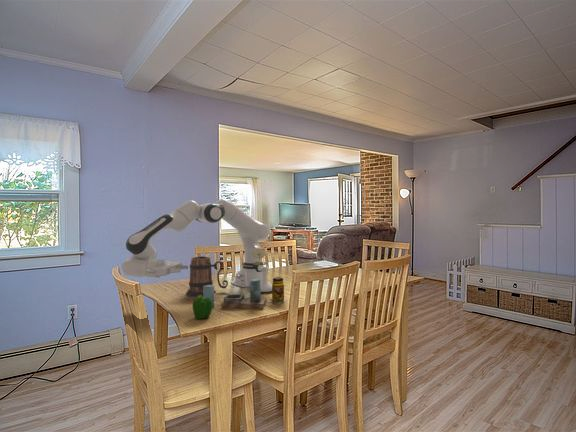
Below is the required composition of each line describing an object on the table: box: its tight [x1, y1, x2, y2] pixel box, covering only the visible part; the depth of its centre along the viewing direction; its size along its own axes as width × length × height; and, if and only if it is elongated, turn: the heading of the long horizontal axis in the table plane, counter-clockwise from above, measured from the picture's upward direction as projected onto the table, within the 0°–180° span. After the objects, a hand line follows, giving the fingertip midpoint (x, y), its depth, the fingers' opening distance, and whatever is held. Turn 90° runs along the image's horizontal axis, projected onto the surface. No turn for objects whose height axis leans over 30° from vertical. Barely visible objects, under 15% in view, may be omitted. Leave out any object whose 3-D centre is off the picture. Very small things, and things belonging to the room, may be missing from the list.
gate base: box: [220, 279, 267, 310], centre depth 162 cm, size 20×10×12 cm, turn 86°
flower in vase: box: [252, 247, 272, 293], centre depth 191 cm, size 13×11×25 cm
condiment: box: [266, 276, 288, 305], centre depth 170 cm, size 7×8×12 cm
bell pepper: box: [192, 295, 213, 320], centre depth 144 cm, size 8×8×10 cm
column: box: [202, 284, 215, 309], centre depth 160 cm, size 5×5×10 cm
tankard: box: [185, 256, 229, 298], centre depth 189 cm, size 24×17×20 cm
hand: (183, 268), depth 161 cm, fingers open, 8 cm apart
